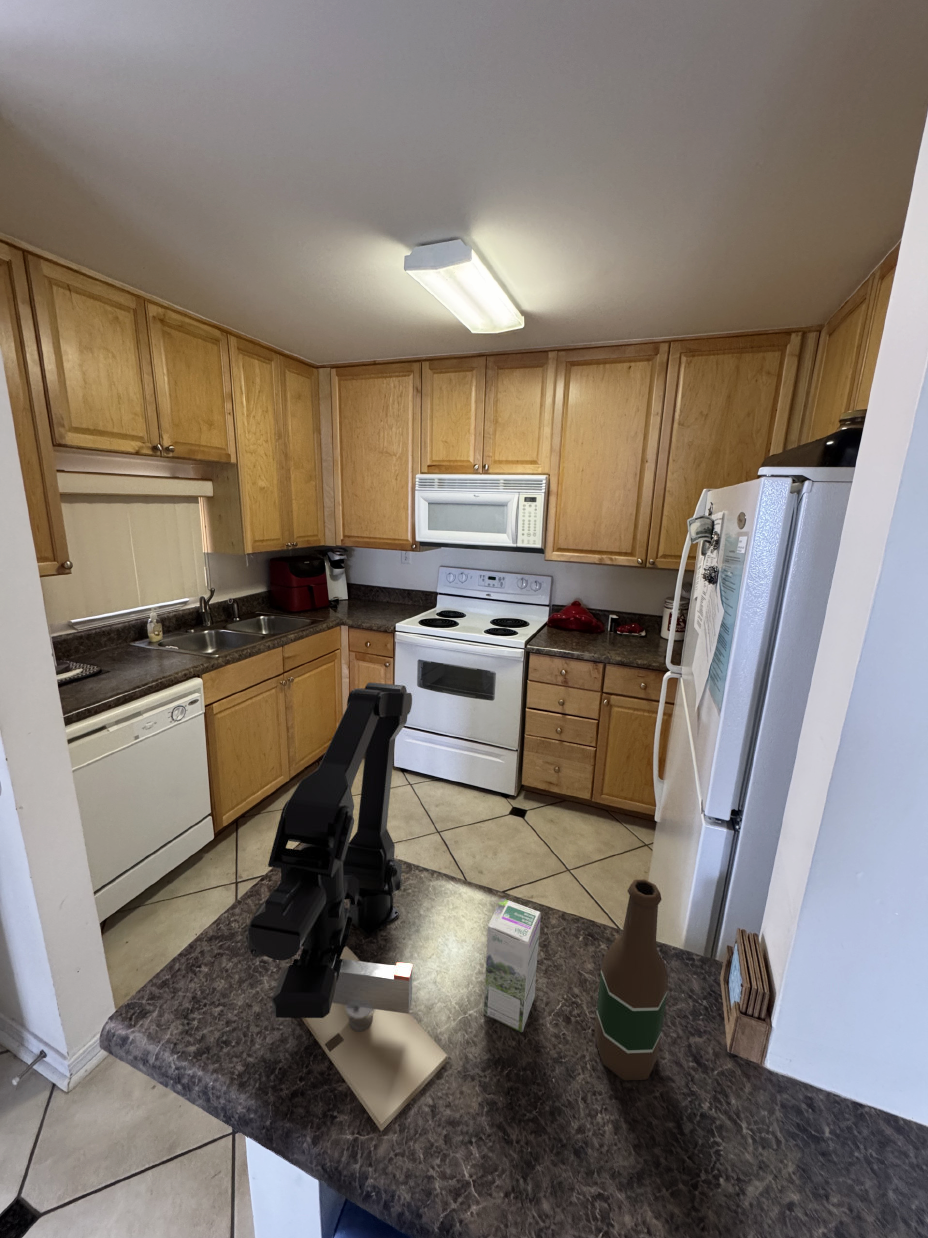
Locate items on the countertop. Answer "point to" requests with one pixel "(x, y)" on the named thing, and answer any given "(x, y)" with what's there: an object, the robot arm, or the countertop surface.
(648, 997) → the beer bottle
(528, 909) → the syrup box
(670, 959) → the countertop surface
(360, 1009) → the grey rectangular bar
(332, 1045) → the post board
